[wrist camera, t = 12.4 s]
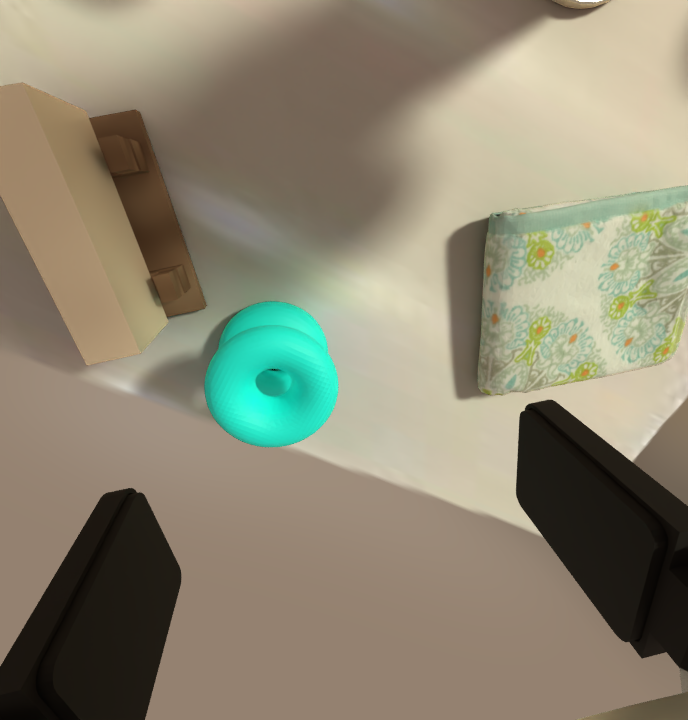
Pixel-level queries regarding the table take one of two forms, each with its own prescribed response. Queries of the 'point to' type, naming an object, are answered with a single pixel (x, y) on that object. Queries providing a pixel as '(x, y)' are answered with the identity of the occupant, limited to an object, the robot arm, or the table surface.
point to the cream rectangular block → (75, 225)
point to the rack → (149, 210)
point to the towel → (583, 290)
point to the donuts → (271, 376)
